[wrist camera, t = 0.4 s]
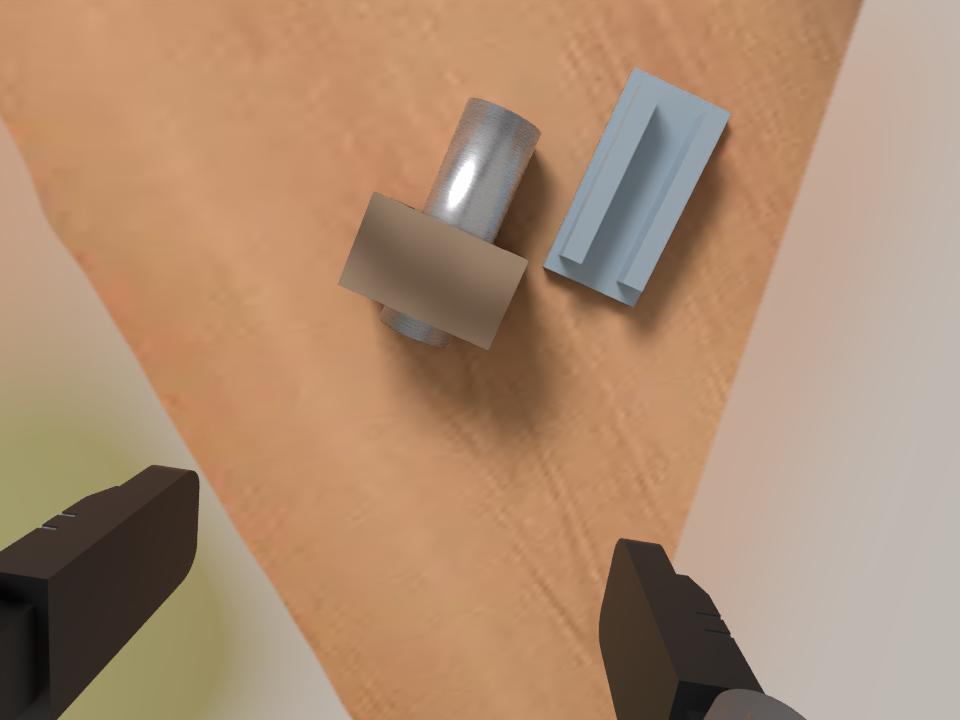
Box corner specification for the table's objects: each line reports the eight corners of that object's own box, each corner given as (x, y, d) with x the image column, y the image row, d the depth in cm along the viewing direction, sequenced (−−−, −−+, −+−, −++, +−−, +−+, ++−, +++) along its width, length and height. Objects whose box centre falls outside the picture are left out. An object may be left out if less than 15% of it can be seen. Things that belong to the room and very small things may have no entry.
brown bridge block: (396, 200, 35) (373, 191, 29) (523, 257, 35) (528, 261, 29) (365, 276, 36) (337, 284, 30) (489, 331, 36) (488, 350, 30)
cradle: (631, 71, 33) (643, 55, 30) (725, 116, 33) (746, 104, 31) (542, 266, 35) (546, 268, 33) (631, 305, 36) (642, 311, 33)
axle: (469, 109, 34) (466, 90, 30) (538, 141, 34) (544, 126, 30) (387, 311, 36) (372, 321, 32) (451, 339, 37) (445, 353, 32)
